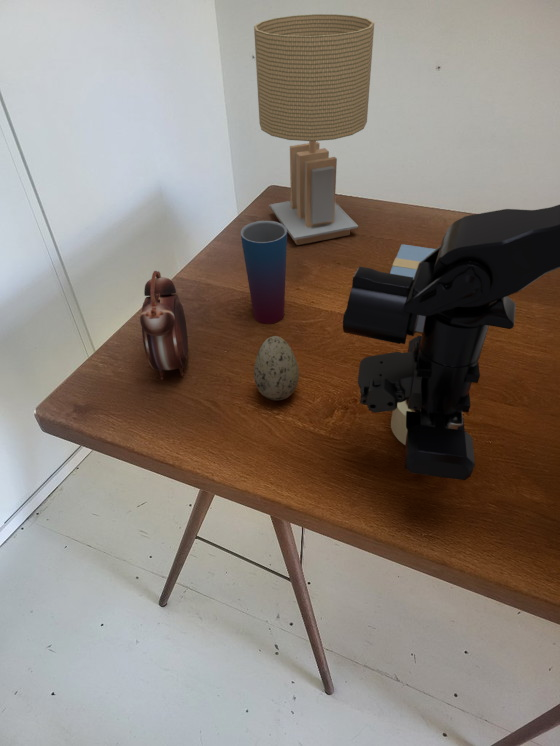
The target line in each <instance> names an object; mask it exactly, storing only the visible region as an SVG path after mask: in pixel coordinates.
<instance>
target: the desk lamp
mask: <svg viewBox="0 0 560 746" xmlns="http://www.w3.org/2000/svg"><path fill="white" fill-rule="evenodd" d="M253 31H254V32H253V33H254V49H255V50H254V51H255V67H256V68H255V69H256V84H257V102H258V105H257V106H258V119H259V126H260V130H261V131H262V132H264V133H266V134H268V135H269V136H271V137H275V138H279V139H283V140H287V141H299V142H300V141H301V142H308V143H301V144H294V145H289V173H290V174H289V176H290V179H289V181H290V200H287V201H281V202H276V203H270V204H269V208H270V209H271V211H272V212H273V213H274V215H275V216H276V218H277V220H278V221H279V223H281V224H283V225H284V226H285V227H286V228H287V234H288V235H289V236H290V238H291V239H292V240H293V241H294V244H296V246H301V245H304V244H305V245H306V244H311V243H316V242H320V241H326V240H331V239H336V238H342V237H345V236H350V235H351V230H354V229H355V230H356V229H358V228H359V225H358V224H357V223H356V222H355V221H354V220H353V218H352V217H350V216H349V215H348V214H347V212H345V211H344V209H343V208H342V207H341V206H340V205H339V204H338V203H337V202H336V189H337V187H336V186H337V164H338V163H337V161H338V159H337V157H336V156H330V152H329V150H328V149H327V148H325V147H323V148H320V141H332V140H338V139H341V138H345V137H346V138H347V137H349V136H353V135H355V134H357V133H359V132H361V131H363V130H364V129H365V127H366V125H367V122H368V114H369V113H368V112H369V99H370V85H371V72H372V60H373V59H372V58H373V46H374V32H375V22H374V21H373V20H372V19H369V18H367V17H362V16H357V15H349V14H333V13H331V14H327V13H326V14H325V13H324V14H323V13H321V14H320V13H319V14H318V13H315V14H296V15H288V16H281V17H280V16H279V17H275V18H270V19H267V20H262V21H259V22H258V23H256V24H255V25H254V26H253Z"/></svg>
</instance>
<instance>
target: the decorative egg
mask: <svg viewBox="0 0 560 746" xmlns="http://www.w3.org/2000/svg"><path fill="white" fill-rule="evenodd" d="M255 357H256V358H255V362H254V367H253V368H254V369H253V378H254V383H255V386H256V388H257V390H258V391H259V393H260V394H261V395H262V396H263V397H264V398H266V399H267V400H271V401H283V400H286V399H288V398H289V397H291V395H293V393H295V390H296V389H297V387H298V383H299V379H300V374H299V371H300V370H299V365H298V361H297V358H296V356H295V353H294V351H293V349H292V348H291V346H290V345H289V344H288V342H287V341H286V340H285V339H283V338H282V337H281V336H278V335H272V336H270V337H267V339H265V341H263V343H262V344H261V345H260V347H259V349H258V351H257V354H256V356H255Z"/></svg>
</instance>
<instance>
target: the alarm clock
mask: <svg viewBox="0 0 560 746" xmlns="http://www.w3.org/2000/svg"><path fill="white" fill-rule="evenodd" d="M177 293H178V291H177V287H176V284H175V283H174V281H173V280H172V279H171V278H169V277H165V276H163V277H162V275H161V272H160V271H159V270H158V271H157V270H153V272H152V275H151V279H149V280H148V281H146V283H145V284H144V292H143V294H144V295H143V296H144V297H145V298H144V300H143V303H142V306H141V312H140V316H139V322H140V326H141V335H142V343H143V348H144V352H145V356H146V360H147V362H148V364H149V365H150V367H151V368H152V370H154V371H158V372H159V376H160V380H161V381H163V380H164V379H165V376H164V371H174V370H179V372H180V376H184V372H183V369H184V368H185V367H186V364H187V357H188V352H189V351H188V350H189V349H188V348H189V344H188V330H187V321H186V316H185V310H184V307H183V305H182V303H181V300H180V297H179V295H178V294H177Z"/></svg>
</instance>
